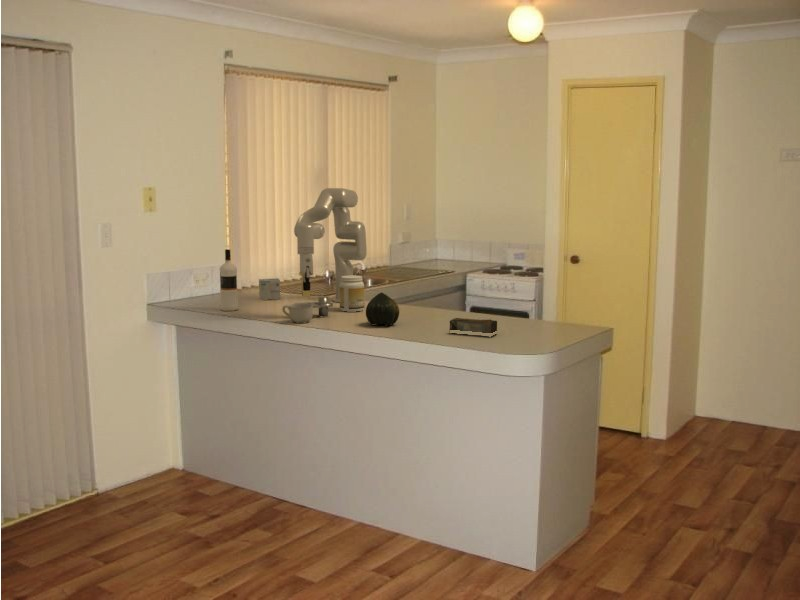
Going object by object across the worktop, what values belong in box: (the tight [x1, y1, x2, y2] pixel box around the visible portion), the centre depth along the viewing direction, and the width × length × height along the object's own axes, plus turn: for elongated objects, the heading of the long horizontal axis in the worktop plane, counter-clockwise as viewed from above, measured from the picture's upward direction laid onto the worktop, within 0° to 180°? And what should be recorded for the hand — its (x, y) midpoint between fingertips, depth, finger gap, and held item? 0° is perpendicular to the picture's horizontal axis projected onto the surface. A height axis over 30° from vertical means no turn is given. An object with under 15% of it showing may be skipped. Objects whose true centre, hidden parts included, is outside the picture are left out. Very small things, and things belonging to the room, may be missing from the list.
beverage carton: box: [449, 317, 498, 333], centre depth 338 cm, size 8×19×7 cm, turn 66°
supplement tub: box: [339, 274, 365, 313], centre depth 394 cm, size 12×12×17 cm
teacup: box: [281, 302, 314, 324], centre depth 364 cm, size 14×11×8 cm
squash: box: [365, 292, 400, 326], centre depth 358 cm, size 14×15×15 cm
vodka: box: [219, 248, 240, 312], centre depth 393 cm, size 9×9×30 cm
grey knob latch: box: [303, 296, 334, 317], centre depth 377 cm, size 17×10×9 cm, turn 107°
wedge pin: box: [298, 271, 313, 298], centre depth 374 cm, size 5×3×12 cm, turn 107°
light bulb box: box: [258, 277, 281, 301], centre depth 428 cm, size 11×7×11 cm, turn 108°
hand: (306, 289), depth 374 cm, fingers closed on wedge pin, 3 cm apart
